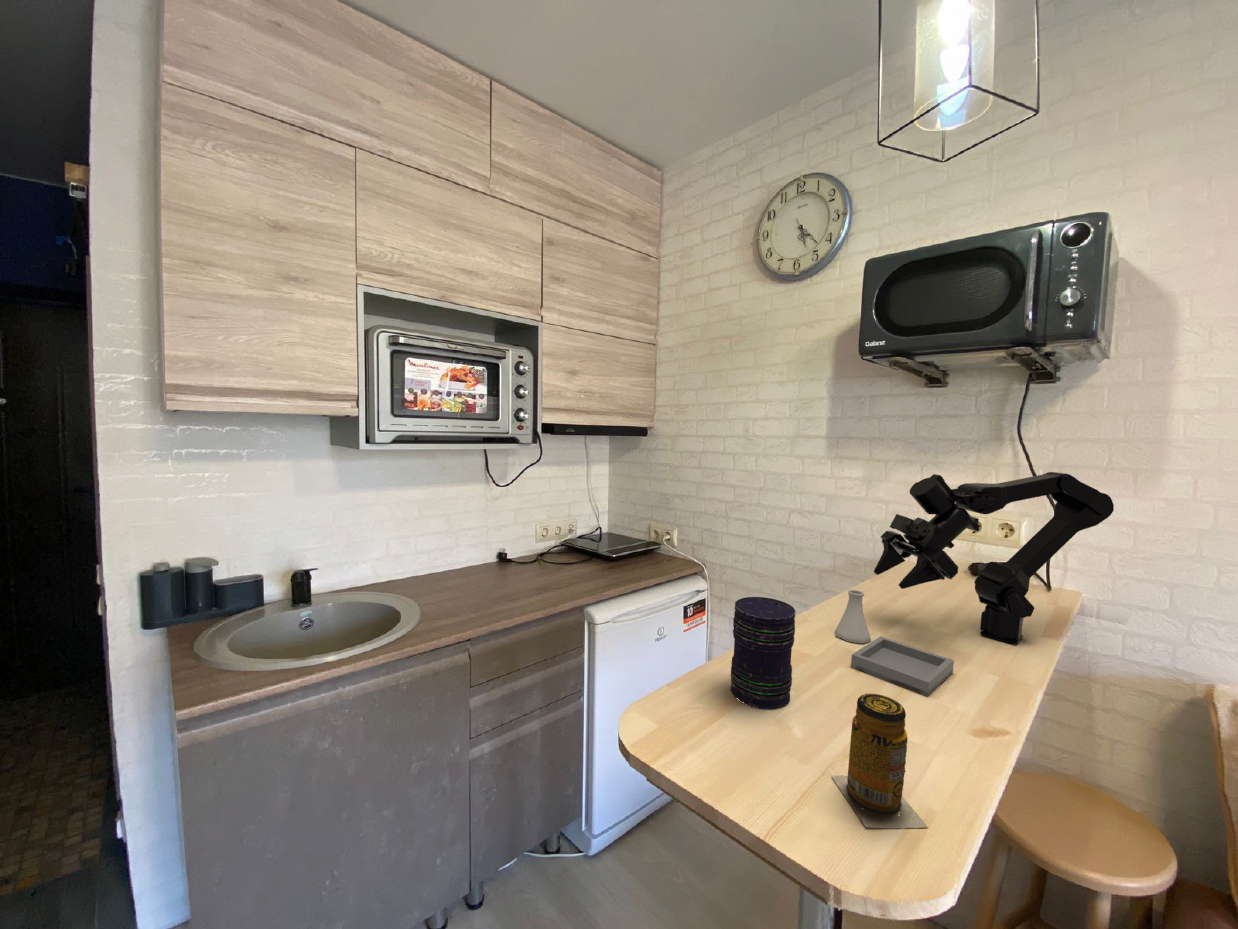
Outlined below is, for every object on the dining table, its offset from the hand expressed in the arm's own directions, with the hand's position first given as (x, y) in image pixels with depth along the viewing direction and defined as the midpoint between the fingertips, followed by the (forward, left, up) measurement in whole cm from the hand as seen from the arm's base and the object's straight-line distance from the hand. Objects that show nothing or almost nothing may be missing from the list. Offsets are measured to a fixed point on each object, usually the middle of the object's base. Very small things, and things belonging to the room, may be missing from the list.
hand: (887, 579), depth 109 cm
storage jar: (+4, +41, -13) cm, 43 cm away
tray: (-8, +13, -13) cm, 20 cm away
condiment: (-19, +51, -13) cm, 56 cm away
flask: (+4, +5, -13) cm, 14 cm away
